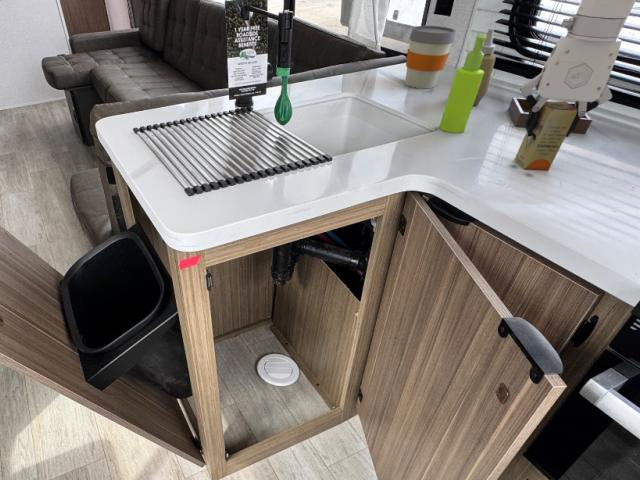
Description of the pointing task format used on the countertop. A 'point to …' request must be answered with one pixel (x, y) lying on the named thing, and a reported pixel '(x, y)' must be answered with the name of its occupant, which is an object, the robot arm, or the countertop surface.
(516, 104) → the tray
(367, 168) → the countertop surface
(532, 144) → the shoe polish box
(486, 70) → the squeeze bottle
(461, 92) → the soap dispenser
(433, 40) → the reusable coffee cup
